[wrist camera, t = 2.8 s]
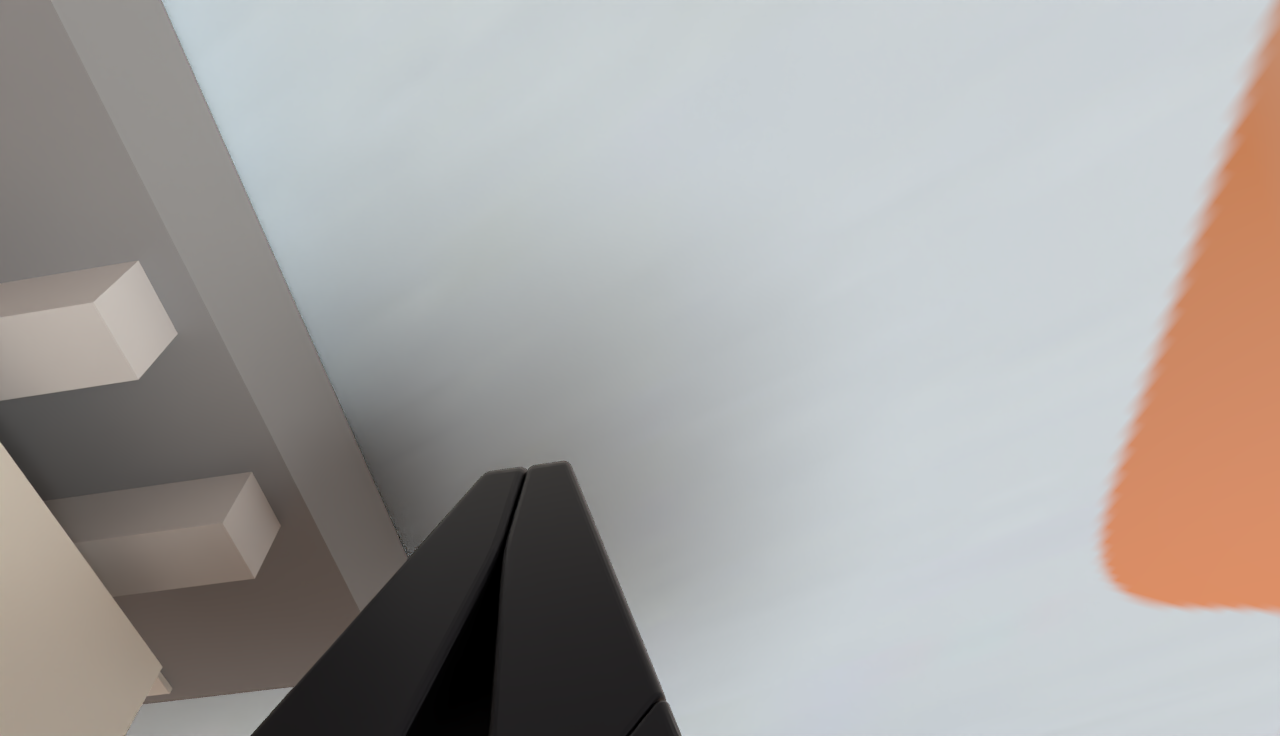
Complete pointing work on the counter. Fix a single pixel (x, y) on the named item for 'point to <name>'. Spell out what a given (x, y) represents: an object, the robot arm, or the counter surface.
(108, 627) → the fader tab
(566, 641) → the robot arm
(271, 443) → the fader console
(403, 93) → the counter surface
